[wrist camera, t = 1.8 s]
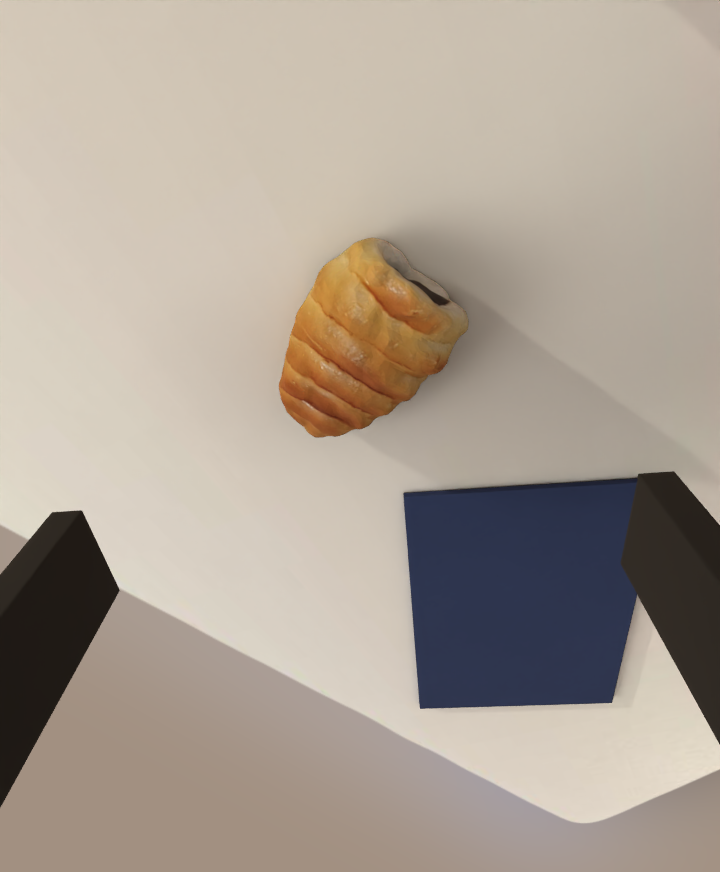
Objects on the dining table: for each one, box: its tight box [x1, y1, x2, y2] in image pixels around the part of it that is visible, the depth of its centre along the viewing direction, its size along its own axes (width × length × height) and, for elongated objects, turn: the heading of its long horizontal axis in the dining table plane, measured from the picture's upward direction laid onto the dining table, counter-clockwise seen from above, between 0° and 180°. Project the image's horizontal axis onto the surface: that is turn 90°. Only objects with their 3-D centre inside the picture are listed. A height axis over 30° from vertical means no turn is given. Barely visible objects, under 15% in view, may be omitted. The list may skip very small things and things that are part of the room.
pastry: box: [279, 238, 468, 437], centre depth 24 cm, size 9×7×4 cm
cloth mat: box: [404, 478, 638, 709], centre depth 34 cm, size 14×20×1 cm
